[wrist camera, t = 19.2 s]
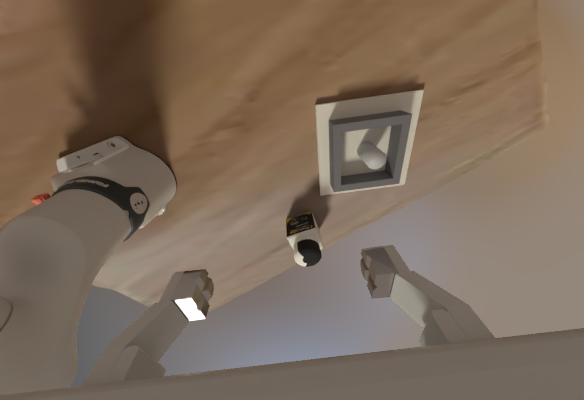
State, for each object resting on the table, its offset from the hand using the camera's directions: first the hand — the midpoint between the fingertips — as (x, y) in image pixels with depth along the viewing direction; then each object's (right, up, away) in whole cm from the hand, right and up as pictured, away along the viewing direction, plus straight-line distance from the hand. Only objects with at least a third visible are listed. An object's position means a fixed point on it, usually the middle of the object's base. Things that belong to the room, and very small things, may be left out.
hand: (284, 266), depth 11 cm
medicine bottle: (+3, -3, +44) cm, 45 cm away
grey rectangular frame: (+15, +14, +33) cm, 39 cm away
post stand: (+16, +15, +33) cm, 40 cm away
